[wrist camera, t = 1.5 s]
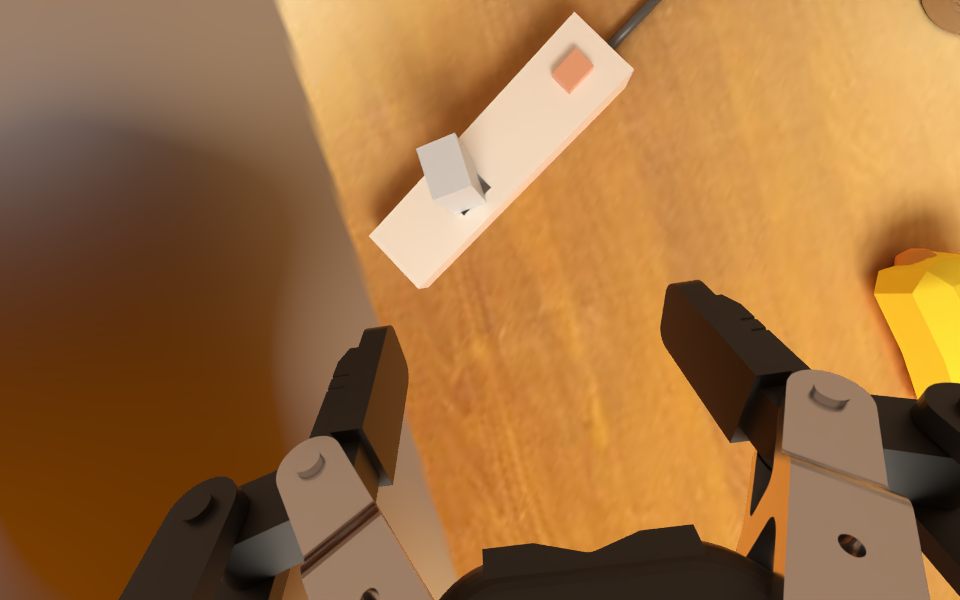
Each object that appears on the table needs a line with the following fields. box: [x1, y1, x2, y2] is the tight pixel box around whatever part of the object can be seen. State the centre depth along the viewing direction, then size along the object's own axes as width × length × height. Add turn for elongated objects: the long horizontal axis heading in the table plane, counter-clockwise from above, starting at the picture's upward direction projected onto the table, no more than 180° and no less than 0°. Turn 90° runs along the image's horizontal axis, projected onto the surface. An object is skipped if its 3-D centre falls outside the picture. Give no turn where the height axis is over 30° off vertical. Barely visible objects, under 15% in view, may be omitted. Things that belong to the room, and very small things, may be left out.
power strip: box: [369, 0, 661, 289], centre depth 38 cm, size 42×8×4 cm, turn 135°
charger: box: [416, 133, 486, 214], centre depth 36 cm, size 4×4×10 cm
